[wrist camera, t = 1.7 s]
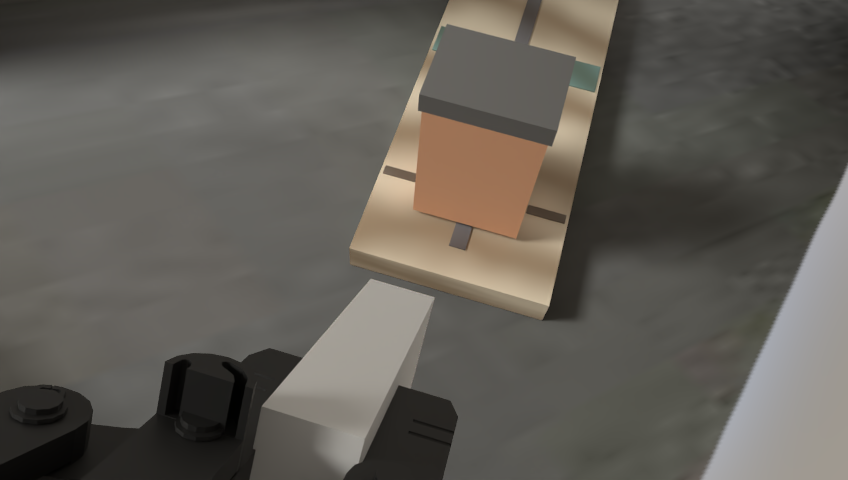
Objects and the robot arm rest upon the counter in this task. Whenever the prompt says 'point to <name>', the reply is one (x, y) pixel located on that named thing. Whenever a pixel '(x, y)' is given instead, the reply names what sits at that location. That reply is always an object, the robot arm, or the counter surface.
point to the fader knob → (486, 127)
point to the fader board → (553, 191)
